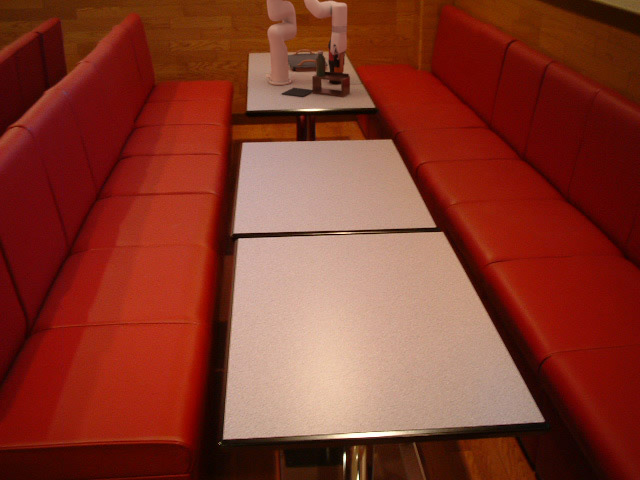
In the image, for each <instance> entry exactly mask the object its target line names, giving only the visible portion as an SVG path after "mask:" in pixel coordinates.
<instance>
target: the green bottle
mask: <svg viewBox="0 0 640 480" xmlns="http://www.w3.org/2000/svg"><path fill="white" fill-rule="evenodd" d="M317 54H318V56H317V57H316V67H315V75H316V76H325V71H326V69H325V67H326V66H325V61H326V57H325V55H324V50H317Z"/></svg>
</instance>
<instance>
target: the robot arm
mask: <svg viewBox="0 0 640 480" xmlns="http://www.w3.org/2000/svg"><path fill="white" fill-rule="evenodd" d="M303 2H304V6H305V7H306V9H307V10H308V11H309V13H311V14H312V16H314V17H315V18H317V19H320V20H321V19H326V18H330V17H331V37H330V39H331V49H330V51H331V53H332V56H333V59H334V67H338V68H339V67H340V59H339V55H340V53H341V52H343V53H344V61H345V60H346V59H345V57H346V51H347V49H348V48H347V47H348V35H347V33H348V4H347V3H345V2H338V1H335V0H325V1H319V0H303ZM266 8H267V9H266V10H267V15H268V19H269V20H270V21H272V22H279V23H275V24H272V25H270V26H269V28H268V29H267V34H266V35H267V39H268V43H269V53H270V69H271V70H270V71H271V72H270V73H266V75H265V77H266V79H269V81H268V83H269V84H270V85H274V86H285V85H290V84H291V83H292V82H293V81H292V79H291V78H290V75H289V74H290V73H289V62H288V55H289V51H288V46H287V45H286V43H285V41H290V40H294V39H295V37H296V36H297V32H298V26H297V15H296V8H295V6H294V4H293V3H292V2H291V1H289V0H266ZM280 21H281V22H280ZM336 52H337V53H336ZM336 54H338V55H336Z"/></svg>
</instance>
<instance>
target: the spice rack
mask: <svg viewBox="0 0 640 480" xmlns="http://www.w3.org/2000/svg"><path fill="white" fill-rule="evenodd" d="M311 79H312V80H311V81H312V83H311V84H312V90H313V92H312V94H315V95H322V96H329V97H330V96H331V97H340V98H344V97H347V96H348V95H350V94H351V76H350V73H345V72H343V73H336V72H330V71H326V70H325V76H316V74H314V75H312V76H311ZM322 80H324V81H329V80H332V81H341V83H340V90H339V89H332V88H331V89H330V88H323V87H322Z"/></svg>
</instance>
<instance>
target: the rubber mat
mask: <svg viewBox="0 0 640 480" xmlns="http://www.w3.org/2000/svg"><path fill="white" fill-rule="evenodd" d="M311 94H313V89H308V88H302V87H301V88H300V87H291V88H290V89H288V90H286V91H284V92H281V95H283V96H289V97H290V96H291V97H299V98H304V97H307V96H308V95H311Z"/></svg>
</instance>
